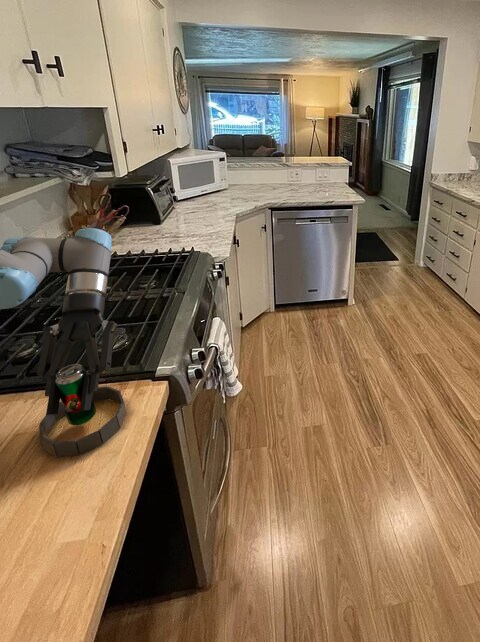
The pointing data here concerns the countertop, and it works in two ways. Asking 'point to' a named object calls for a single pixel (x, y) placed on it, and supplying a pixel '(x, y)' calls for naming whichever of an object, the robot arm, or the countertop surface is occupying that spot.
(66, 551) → the countertop surface
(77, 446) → the gray segmented ring
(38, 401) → the countertop surface
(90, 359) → the robot arm
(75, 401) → the soda can
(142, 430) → the countertop surface
